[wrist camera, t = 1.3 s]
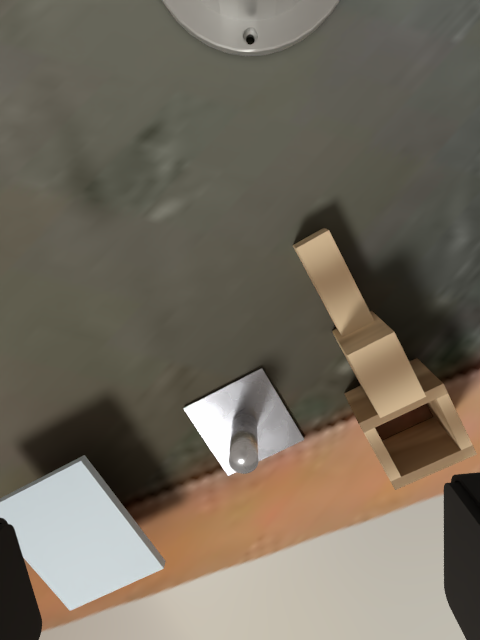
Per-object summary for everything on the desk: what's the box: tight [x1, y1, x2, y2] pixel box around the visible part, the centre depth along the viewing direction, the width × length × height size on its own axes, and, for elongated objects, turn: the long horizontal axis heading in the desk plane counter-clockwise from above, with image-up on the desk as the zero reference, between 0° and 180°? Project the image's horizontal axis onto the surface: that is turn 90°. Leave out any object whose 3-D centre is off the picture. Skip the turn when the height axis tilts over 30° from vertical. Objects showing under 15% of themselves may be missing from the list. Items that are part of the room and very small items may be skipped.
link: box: [293, 228, 477, 490], centre depth 29 cm, size 18×6×5 cm, turn 30°
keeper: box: [0, 455, 165, 610], centre depth 34 cm, size 9×11×4 cm
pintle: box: [183, 367, 304, 476], centre depth 31 cm, size 7×7×5 cm
